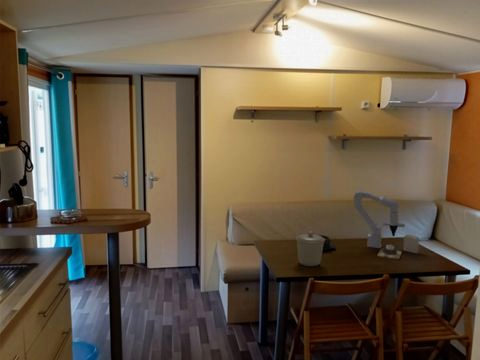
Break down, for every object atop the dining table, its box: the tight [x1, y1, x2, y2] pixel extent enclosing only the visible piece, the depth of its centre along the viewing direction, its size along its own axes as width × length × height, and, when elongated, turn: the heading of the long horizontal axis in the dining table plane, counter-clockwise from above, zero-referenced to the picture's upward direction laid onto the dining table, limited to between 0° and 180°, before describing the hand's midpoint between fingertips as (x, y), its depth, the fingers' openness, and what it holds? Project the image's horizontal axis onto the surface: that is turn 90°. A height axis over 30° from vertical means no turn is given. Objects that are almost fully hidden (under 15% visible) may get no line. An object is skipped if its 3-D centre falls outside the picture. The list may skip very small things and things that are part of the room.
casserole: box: [318, 234, 337, 252], centre depth 297 cm, size 25×19×8 cm
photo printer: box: [403, 233, 420, 254], centre depth 295 cm, size 10×4×12 cm, turn 39°
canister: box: [295, 230, 325, 267], centre depth 261 cm, size 18×18×21 cm
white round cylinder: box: [385, 244, 395, 250], centre depth 287 cm, size 5×5×5 cm
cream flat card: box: [376, 246, 403, 260], centre depth 287 cm, size 14×18×4 cm
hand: (393, 235), depth 301 cm, fingers closed
